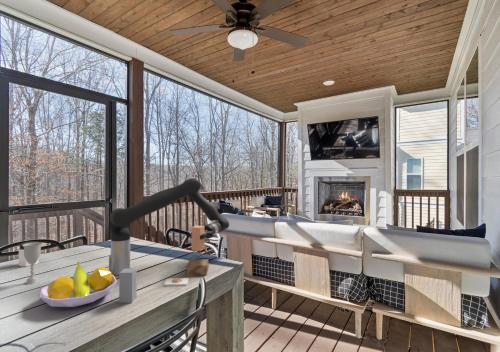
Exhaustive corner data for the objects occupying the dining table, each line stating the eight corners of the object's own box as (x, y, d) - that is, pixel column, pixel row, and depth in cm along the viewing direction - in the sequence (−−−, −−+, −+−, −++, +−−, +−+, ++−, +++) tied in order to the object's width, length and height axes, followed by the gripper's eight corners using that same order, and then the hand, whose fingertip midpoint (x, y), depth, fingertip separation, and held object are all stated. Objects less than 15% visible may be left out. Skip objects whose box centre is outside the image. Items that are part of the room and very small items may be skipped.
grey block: (119, 303, 107) (119, 272, 107) (124, 297, 112) (124, 268, 112) (132, 302, 108) (132, 272, 108) (136, 297, 113) (136, 268, 113)
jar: (22, 262, 156) (22, 241, 156) (40, 261, 159) (40, 240, 159) (16, 267, 148) (16, 245, 148) (35, 265, 151) (35, 244, 151)
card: (164, 285, 124) (164, 283, 124) (167, 280, 131) (167, 278, 131) (186, 285, 125) (186, 283, 125) (188, 279, 132) (188, 277, 132)
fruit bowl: (110, 309, 102) (110, 279, 102) (24, 320, 95) (24, 287, 95) (122, 281, 129) (122, 257, 129) (56, 288, 121) (56, 262, 121)
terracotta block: (191, 250, 141) (191, 227, 141) (196, 247, 146) (196, 225, 145) (200, 251, 139) (200, 227, 139) (204, 248, 144) (204, 226, 144)
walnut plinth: (186, 275, 137) (186, 265, 137) (189, 268, 147) (189, 259, 147) (206, 275, 138) (206, 265, 138) (208, 268, 148) (208, 259, 148)
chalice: (20, 286, 123) (20, 246, 123) (24, 281, 129) (24, 243, 129) (40, 283, 127) (40, 244, 127) (43, 278, 133) (43, 241, 133)
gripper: (198, 223, 158) (183, 229, 142) (221, 224, 154) (208, 230, 138) (198, 236, 158) (183, 243, 142) (221, 238, 154) (208, 245, 138)
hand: (195, 237), depth 140 cm, fingers closed on terracotta block, 5 cm apart
